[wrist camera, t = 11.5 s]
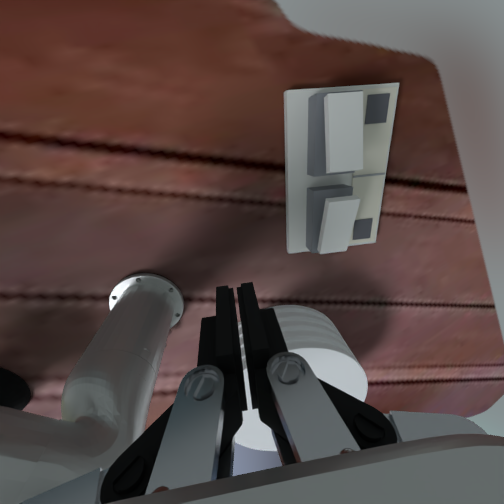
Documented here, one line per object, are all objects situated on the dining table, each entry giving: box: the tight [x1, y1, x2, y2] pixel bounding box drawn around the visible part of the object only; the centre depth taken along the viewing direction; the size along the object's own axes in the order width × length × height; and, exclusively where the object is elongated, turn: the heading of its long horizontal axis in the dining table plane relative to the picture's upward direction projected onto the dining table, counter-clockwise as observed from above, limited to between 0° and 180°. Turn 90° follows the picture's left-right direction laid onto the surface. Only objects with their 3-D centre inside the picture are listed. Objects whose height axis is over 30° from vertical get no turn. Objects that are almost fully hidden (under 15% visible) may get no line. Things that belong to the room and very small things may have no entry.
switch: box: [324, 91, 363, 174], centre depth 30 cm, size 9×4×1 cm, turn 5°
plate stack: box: [235, 305, 368, 451], centre depth 49 cm, size 28×28×12 cm
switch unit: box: [284, 83, 399, 254], centre depth 37 cm, size 24×16×4 cm, turn 4°
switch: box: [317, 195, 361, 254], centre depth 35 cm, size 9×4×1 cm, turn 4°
